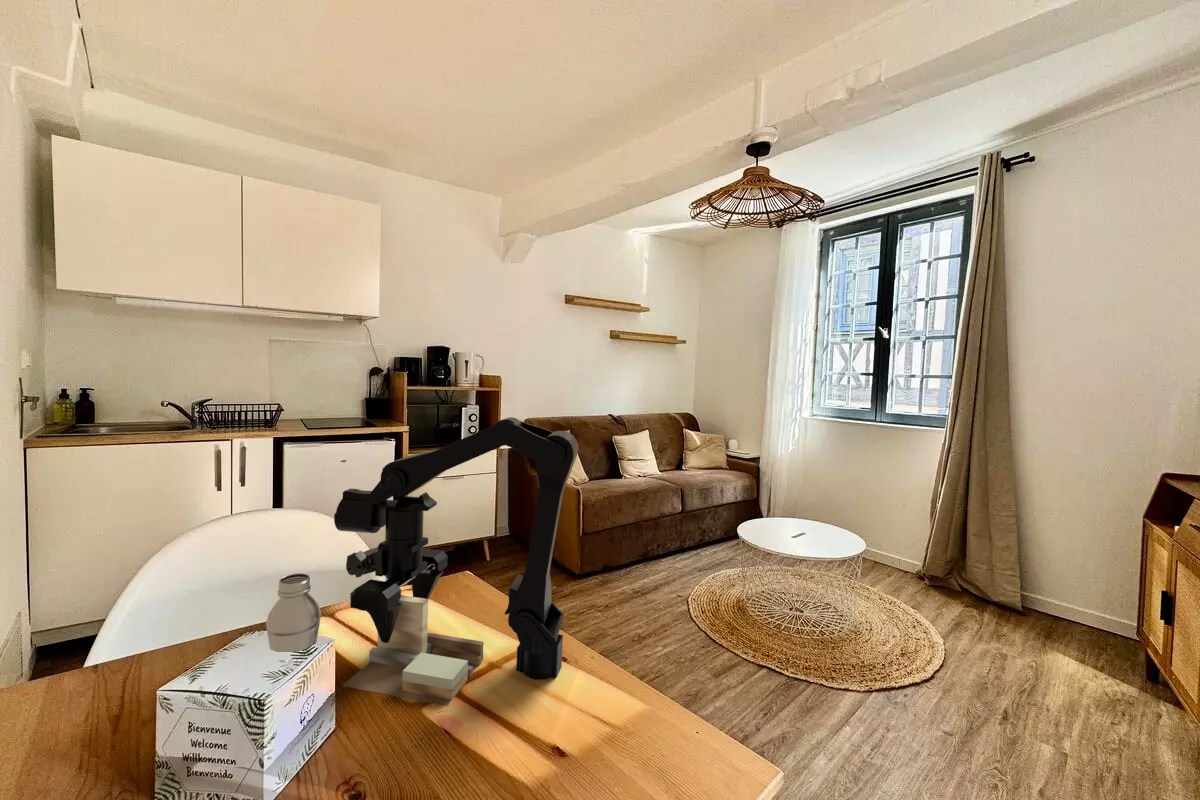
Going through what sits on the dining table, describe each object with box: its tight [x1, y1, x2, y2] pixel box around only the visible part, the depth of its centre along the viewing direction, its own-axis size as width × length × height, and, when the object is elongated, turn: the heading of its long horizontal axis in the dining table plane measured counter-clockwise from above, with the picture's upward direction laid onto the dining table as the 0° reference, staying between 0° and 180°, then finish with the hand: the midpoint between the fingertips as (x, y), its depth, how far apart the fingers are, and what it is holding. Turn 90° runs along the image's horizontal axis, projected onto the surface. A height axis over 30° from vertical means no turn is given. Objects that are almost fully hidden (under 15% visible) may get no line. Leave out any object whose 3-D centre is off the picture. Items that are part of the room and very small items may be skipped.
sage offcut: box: [402, 653, 468, 690], centre depth 76 cm, size 8×5×2 cm, turn 79°
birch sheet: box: [377, 594, 429, 655], centre depth 83 cm, size 8×2×10 cm, turn 79°
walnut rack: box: [342, 632, 485, 707], centre depth 79 cm, size 17×12×4 cm
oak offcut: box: [402, 670, 469, 701], centre depth 76 cm, size 8×5×2 cm, turn 79°
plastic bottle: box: [265, 572, 322, 652], centre depth 68 cm, size 6×7×20 cm
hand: (402, 627), depth 83 cm, fingers open, 9 cm apart
